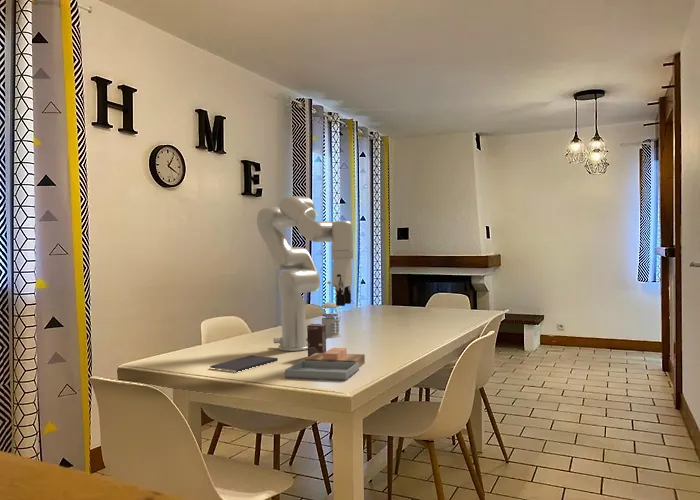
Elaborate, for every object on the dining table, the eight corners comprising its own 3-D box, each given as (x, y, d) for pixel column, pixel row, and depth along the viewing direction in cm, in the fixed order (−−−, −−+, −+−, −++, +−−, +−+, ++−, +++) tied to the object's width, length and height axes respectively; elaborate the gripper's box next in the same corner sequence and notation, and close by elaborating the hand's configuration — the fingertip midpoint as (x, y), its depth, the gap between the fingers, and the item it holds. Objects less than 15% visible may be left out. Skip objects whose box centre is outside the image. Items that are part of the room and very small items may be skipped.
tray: (284, 377, 177) (284, 369, 177) (301, 367, 191) (301, 360, 191) (346, 380, 171) (346, 372, 171) (358, 370, 185) (358, 362, 185)
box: (307, 358, 207) (306, 325, 207) (311, 355, 211) (311, 323, 211) (322, 358, 205) (322, 325, 205) (327, 356, 210) (326, 324, 210)
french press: (315, 336, 255) (314, 281, 255) (330, 333, 265) (329, 280, 265) (332, 338, 250) (331, 282, 250) (348, 334, 259) (346, 280, 259)
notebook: (236, 374, 186) (277, 362, 204) (236, 369, 186) (277, 357, 204) (208, 370, 192) (251, 359, 210) (208, 366, 192) (250, 355, 210)
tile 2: (328, 356, 194) (328, 350, 194) (333, 353, 199) (332, 347, 199) (342, 356, 193) (342, 350, 193) (346, 353, 198) (346, 348, 198)
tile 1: (323, 359, 189) (323, 353, 189) (328, 356, 194) (327, 350, 194) (337, 359, 188) (337, 353, 188) (341, 356, 193) (341, 351, 193)
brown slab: (304, 367, 191) (304, 359, 191) (315, 361, 201) (315, 352, 201) (356, 369, 186) (356, 360, 185) (364, 363, 196) (364, 354, 196)
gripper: (339, 255, 213) (340, 302, 214) (325, 256, 197) (326, 307, 197) (358, 254, 211) (360, 302, 212) (345, 255, 195) (346, 307, 195)
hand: (343, 304), depth 204 cm, fingers open, 6 cm apart
